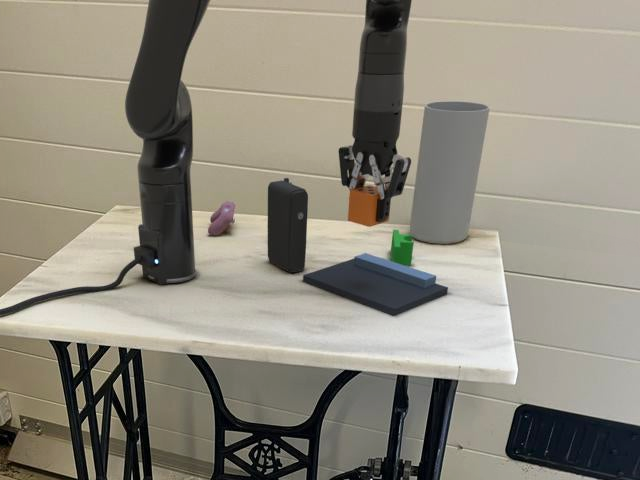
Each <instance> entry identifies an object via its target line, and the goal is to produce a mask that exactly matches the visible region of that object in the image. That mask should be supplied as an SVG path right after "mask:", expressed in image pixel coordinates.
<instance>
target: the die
mask: <svg viewBox="0 0 640 480" xmlns="http://www.w3.org/2000/svg"><path fill="white" fill-rule="evenodd" d="M377 199H379V197H378V191H377V186H376V185H372V184H369V185H368V184H367V185H364V187H360V188H356V189H352V190H349V197H348V211H347V222H351V223H354V224H358V225H361V226H365V227H368V228H371V227H374V226H378V225H381V224H384V223H387V222H389V221H390V216H389V217H388V218H387V220H386V221H384V222H381V223H379V222H376V210H377ZM390 205H391V202H390ZM390 212H391V210H390V211H389V214H391V213H390Z"/></svg>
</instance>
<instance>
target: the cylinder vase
mask: <svg viewBox="0 0 640 480" xmlns="http://www.w3.org/2000/svg"><path fill="white" fill-rule="evenodd" d="M490 108H491V107H490V106H489V105H487V104H483V103H479V102H472V101H459V100H455V101H454V100H447V101H446V100H445V101H444V100H443V101H441V100H440V101H433V102H432V101H431V102H427V103H425V104H424V108H423V117H422V125H421V131H420V132H421V133H420V141H419V149H418V155H417V156H418V157H417V165H416V171H415V172H416V173H415V174H416V175H415V180H414V181H415V183H414V187H413V188H414V190H413V196H412V205H411V213H410V220H409V229H408V230H409V231H408V232H409V235H412V238H414V239H415V240H418V241H420V242H424V243H428V244H429V243H430V244H435V245H436V244H437V245H438V244H439V245H449V244H456V243H459V242H462V241H464V240H465V239H466V238H467V237H468V235H469V230H470V223H471V218H472V213H473V206H474V200H475V197H476V189H477V184H478V177H479V172H480V167H481V166H480V165H481V161H482V160H481V159H482V154H483V149H484V143H485V137H486V131H487V125H488V119H489V115H490Z"/></svg>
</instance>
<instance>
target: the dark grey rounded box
mask: <svg viewBox="0 0 640 480" xmlns="http://www.w3.org/2000/svg"><path fill="white" fill-rule="evenodd" d="M290 183H291V182H290ZM290 183H288V182H285V181H284V180H276V181H271V182H269V184H268V186H267V258H268V260H269V262H270V263H272V264H274V265H276V266H278V267H280V268H281V269H283V270H285V271H287V272H288V273H297V272H302V271H303V270H305V267H306V256H307V255H306V251H307V234H308V233H307V232H308V231H307V230H308V209H309V208H308V206H309V194H308V191H307V189H305V188H303V187H300V186H297V185H295V184H294V183H292V184H290Z"/></svg>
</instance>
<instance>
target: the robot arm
mask: <svg viewBox="0 0 640 480" xmlns="http://www.w3.org/2000/svg"><path fill="white" fill-rule="evenodd" d="M412 2H413V0H365V12H364V13H365V14H364V28H363V30H362V33H361V36H360V42H359V56H358V66H357V67H358V68H357V69H358V70H357V76H356V83H355V88H354V89H355V90H354V101H353V115H352V116H353V117H352V131H351V136H352V138H353V139H354V141H353V144H352V145H346V146H342V147H339V148H338V160H339V161H338V162H339V171H340V172H339V173H340V181H341V186H343V187H347V188H348V190H349V191H350V190H352V189H356V188H360V187H364V186H366V182H367V179H368V178H369V177H372V179H373V183H374V186H375V187H377V191H378V197H379V199H377V210H376V222H379V223H381V222H384V221H386V220H387V218H388V217H389V218H390V213H389V211H390V212H391V204H390V202H391V201H392V198H394V197H397V196H401V195H402V194H403V191H404V188H405V185H406V182H407V177H408V175H409V171H410V168H411V165H412V159H411V158H410V157H409V156H408V157H407V156H406V157H403V156H401V155H400V154H398V149H397V142H398V140H399V137H400V134H401V133H400V132H401V124H402V114H403V105H404V94H405V67H406V58H407V47H408V45H407V44H408V25H409V19H410V15H411V14H410V13H411V8H412ZM210 3H211V0H148V4H147V9H146V16H145V21H144V28H143V33H142V36H141V42H140V45H139V50H138V53H137V57H136V60H135V63H134V66H133V69H132V74H131V77H130V80H129V83H128V85H127V86H128V87H127V91H126V93H125V98H124V99H125V101H124V110H125V117H126V120H127V123H128V124H129V127H130V129H131V130H132V132H133V133H134V134H135V135H136V136H137V137H139V138H140V139H142V140H143V141H142V150H141V154H140V157H139V159H138V162H137V165H136V166H137V167H136V168H137V179H138V190H139V201H140V212H141V224H138V226H137V228H138V230H137V231H138V240H139V245H138V246H134V247H133V254H134V255H133V256H134V259H133V260H132V261H130V262H129V263H127V264H126V266H124V267H123V268H122V269H121V271H120V272H119V275H118V276H117V279H116V280H115V281H113V282H111V283H109V284H106V285H98V286H97V285H95V286H92V285H91V286H90V285H89V286H87V285H86V286H76V287H71V288H66V289H61V290H56V291H52V292H48V293H44V294H40V295H36V296H34V297H31V298H27V299H25V300H23V301H20V302H18V303H16V304H13V305H10V306H6V307H3V308H0V316H3V315H7V314H10V313H13V312H16V311H19V310H21V309H24V308H25V307H28V306H30V305H33V304H36V303H40V302H44V301H47V300H51V299H54V298H59V297H63V296H69V295H73V294H80V293H97V292H106V291H110V290H113V289H116V288H117V287H119V286H120V285H121V284H122V282H123V281H124V278H125V276H126V275H127V273H128V272H130V271H131V270H132V269H133V268H134V267H136V266H138V265H140V266H141V272H142V277H143V278H145V279H148V280H149V281H152V282H154V283H157V284H159V285H161V286H162V285H165V284H179V283H184V282H188V281H190V280H193V278H195V277H196V275H197V269H196V259H195V258H196V255H195V239H194V238H195V237H194V219H193V201H192V179H191V166H192V164H193V163H192V162H193V157H194V126H193V125H194V124H193V122H194V120H193V107H192V99H191V95H190V92H189V89H188V87H187V86H186V84H185V83H184V82H183V80H182V76H183V70H184V65H185V61H186V58H187V55H188V51H189V49H190V47H191V44H192V42H193V39H194V38H195V36H196V34H197V31H198V29H199V27H200V25H201V23H202V21H203V19H204V16H205V14H206V13H207V10H208V8H209V5H210ZM382 176H384V177H382ZM384 223H385V222H384ZM381 224H382V223H381Z"/></svg>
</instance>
